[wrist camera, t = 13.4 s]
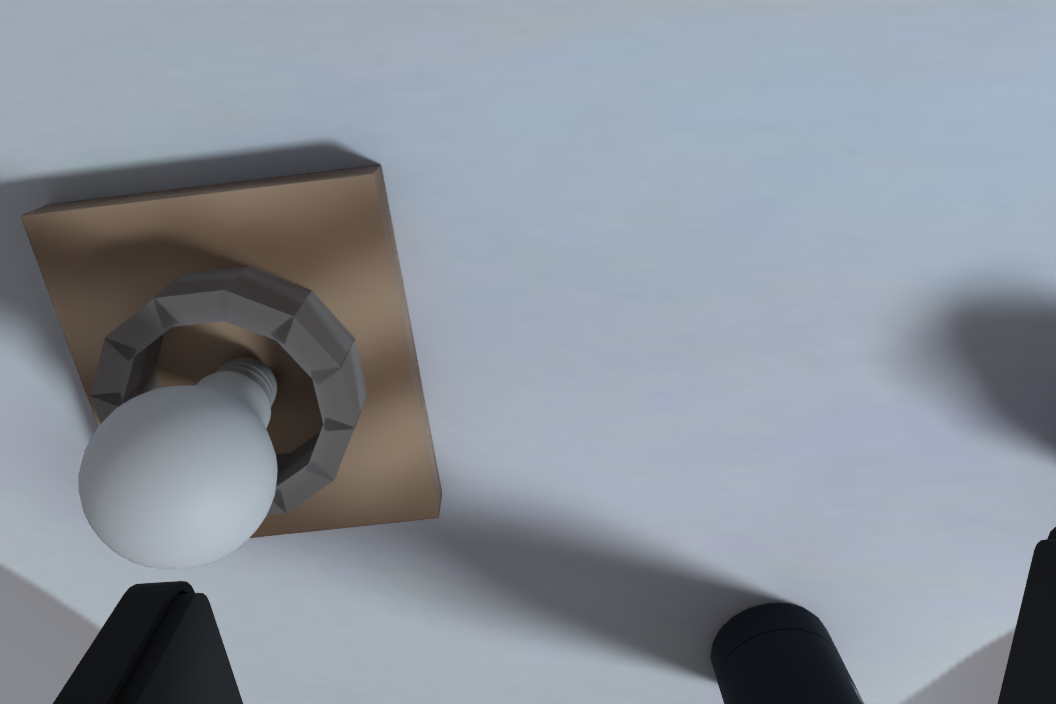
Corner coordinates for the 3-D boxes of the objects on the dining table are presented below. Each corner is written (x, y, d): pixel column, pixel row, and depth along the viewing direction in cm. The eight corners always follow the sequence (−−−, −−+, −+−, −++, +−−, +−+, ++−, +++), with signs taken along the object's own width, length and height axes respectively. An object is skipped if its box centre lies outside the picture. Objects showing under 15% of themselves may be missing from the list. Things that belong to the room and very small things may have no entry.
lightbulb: (183, 431, 35) (50, 601, 25) (176, 301, 33) (27, 431, 23) (323, 445, 36) (247, 618, 26) (327, 318, 33) (245, 453, 23)
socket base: (47, 204, 33) (-27, 235, 29) (381, 164, 33) (359, 189, 28) (161, 524, 40) (114, 591, 35) (442, 493, 39) (432, 558, 34)
